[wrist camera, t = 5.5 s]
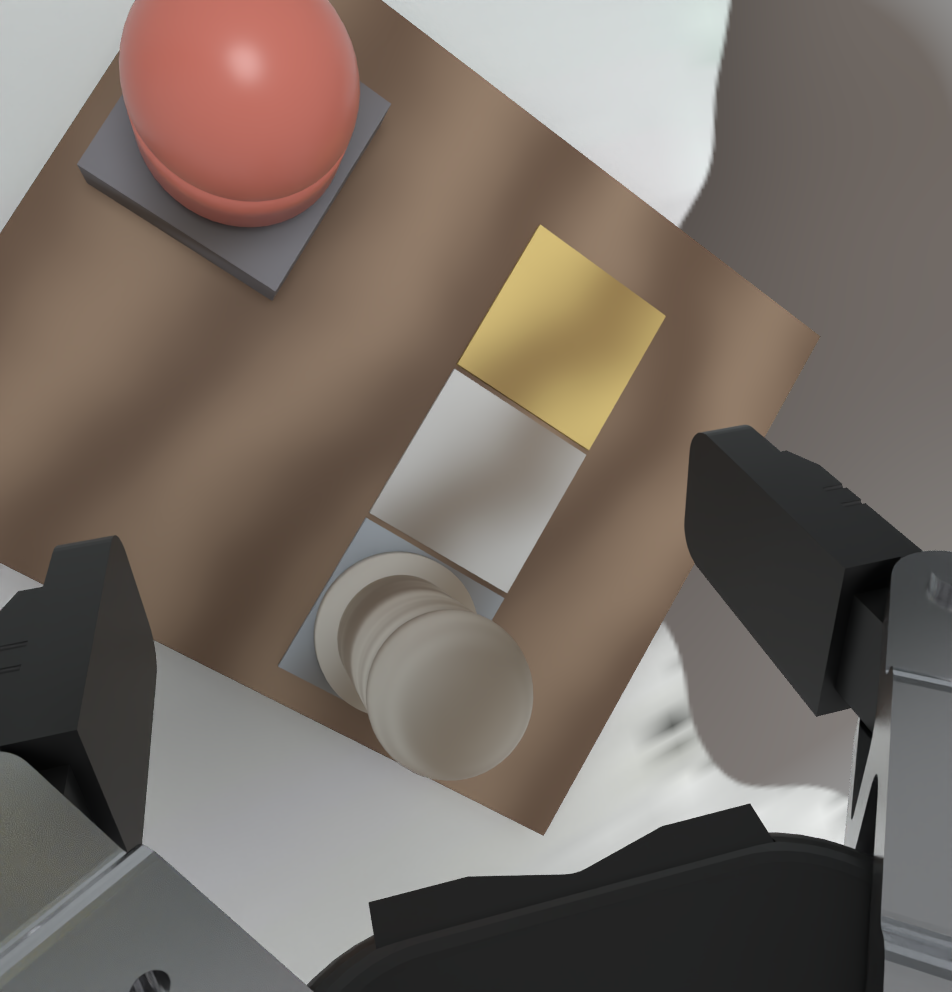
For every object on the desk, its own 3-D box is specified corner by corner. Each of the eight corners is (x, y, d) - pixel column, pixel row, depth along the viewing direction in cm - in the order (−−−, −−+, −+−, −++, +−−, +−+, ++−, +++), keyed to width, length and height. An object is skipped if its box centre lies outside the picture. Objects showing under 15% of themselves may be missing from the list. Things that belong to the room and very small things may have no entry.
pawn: (282, 665, 30) (310, 772, 20) (367, 521, 31) (434, 560, 21) (421, 737, 32) (508, 868, 22) (500, 599, 32) (619, 669, 22)
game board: (-151, 480, 27) (-192, 485, 24) (228, -103, 29) (228, -158, 26) (536, 826, 34) (563, 860, 31) (807, 338, 36) (854, 330, 33)
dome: (89, 144, 25) (49, 58, 19) (202, -29, 25) (196, -165, 20) (278, 267, 27) (293, 221, 21) (381, 101, 27) (423, 11, 21)
